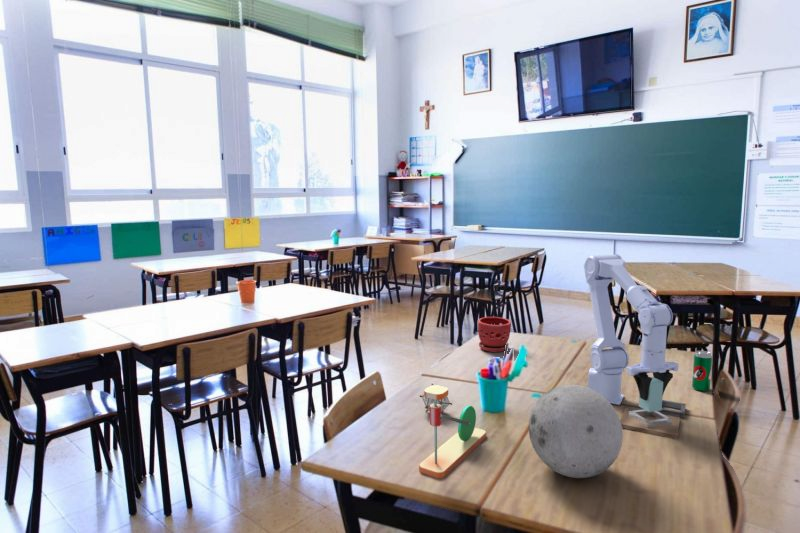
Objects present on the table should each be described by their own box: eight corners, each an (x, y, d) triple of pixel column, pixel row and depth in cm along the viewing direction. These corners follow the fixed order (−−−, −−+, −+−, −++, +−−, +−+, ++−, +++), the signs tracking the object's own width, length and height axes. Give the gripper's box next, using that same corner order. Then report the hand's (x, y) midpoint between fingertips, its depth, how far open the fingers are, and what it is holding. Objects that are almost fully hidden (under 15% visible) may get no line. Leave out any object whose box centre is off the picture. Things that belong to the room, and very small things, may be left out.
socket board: (618, 426, 141) (618, 418, 141) (625, 410, 151) (625, 402, 151) (676, 438, 134) (677, 429, 134) (680, 421, 144) (680, 412, 144)
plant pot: (475, 352, 207) (475, 323, 206) (479, 343, 220) (480, 315, 218) (509, 355, 204) (509, 325, 202) (511, 345, 216) (511, 317, 215)
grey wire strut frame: (442, 424, 153) (463, 400, 150) (424, 423, 147) (446, 398, 144) (426, 401, 159) (446, 377, 156) (408, 400, 153) (428, 375, 150)
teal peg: (648, 412, 140) (650, 383, 139) (638, 406, 144) (640, 378, 142) (661, 410, 141) (663, 381, 139) (651, 404, 144) (652, 376, 143)
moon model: (639, 477, 116) (644, 391, 113) (580, 508, 106) (584, 414, 103) (567, 442, 133) (569, 366, 130) (509, 466, 122) (510, 384, 119)
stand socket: (654, 413, 149) (654, 408, 149) (656, 403, 156) (657, 398, 155) (683, 418, 145) (684, 413, 145) (685, 408, 152) (685, 403, 152)
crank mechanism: (441, 479, 117) (441, 397, 114) (416, 471, 121) (415, 391, 118) (488, 435, 138) (488, 365, 135) (465, 429, 141) (465, 361, 139)
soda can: (712, 392, 163) (715, 355, 162) (694, 391, 164) (697, 354, 163) (706, 386, 168) (709, 350, 167) (689, 385, 169) (691, 349, 168)
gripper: (640, 356, 134) (637, 406, 136) (688, 351, 137) (684, 400, 139) (622, 348, 141) (620, 396, 143) (668, 343, 144) (665, 391, 146)
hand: (650, 398), depth 141 cm, fingers closed on teal peg, 4 cm apart
